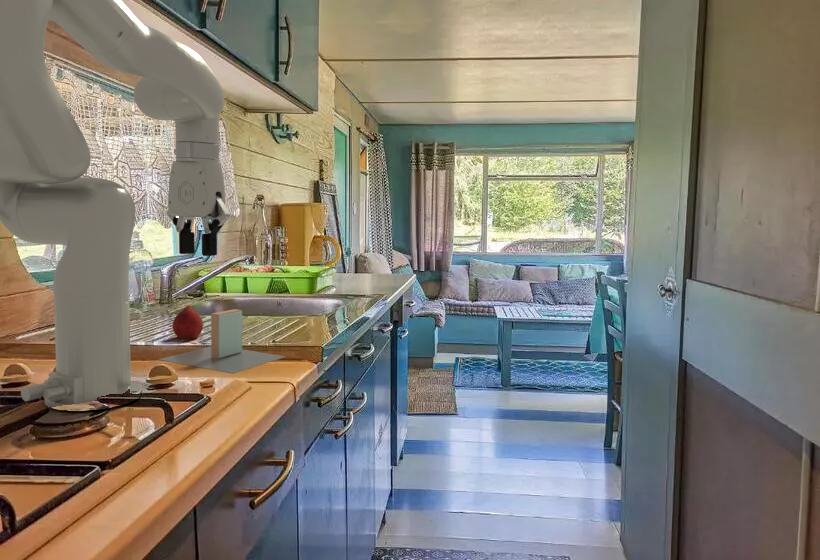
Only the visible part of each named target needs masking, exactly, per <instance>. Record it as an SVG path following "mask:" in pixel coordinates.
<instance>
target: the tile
mask: <svg viewBox="0 0 820 560" xmlns="http://www.w3.org/2000/svg"><path fill="white" fill-rule="evenodd" d="M210 318H211V319H210V320H211V321H210V328H211V329H210V331H211V332H210V333H211V334H210V335H211V336H210V337H211V339H210V342H211V344H210V346H211V358H217V359H219V358H223V357H226V356H230V355H234V354H237V353H241V352H242V349H243V311H242V309H236V308H234V309H228V310H223V311H218V312H212V313H210Z"/></svg>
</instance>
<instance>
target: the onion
mask: <svg viewBox="0 0 820 560" xmlns="http://www.w3.org/2000/svg"><path fill="white" fill-rule="evenodd" d="M172 321H173V322H172V331H173V333H174V334H175V336H176V337H177V338H178V339H180V340H194V339H197V338H198V337H199V336H200V335H201V333H202V331H203V328H204V321H203V317H201V315H200V314H199V313H198V312H197V311H195V310H193V306H192V304H186V306H185V307H184V308H183V309H182V310H181V311H179V312H178V313H177V315H176V316H175V317H174V320H172Z"/></svg>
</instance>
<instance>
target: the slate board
mask: <svg viewBox="0 0 820 560" xmlns="http://www.w3.org/2000/svg"><path fill="white" fill-rule="evenodd" d="M286 357H287V356H284V355H279V354H272V353H269V352H268V353H266V352H261V351H254V350H248V349H243V348H242V352H241V353H237V354H234V355H230V356H226V357H223V358H219V359H217V358H211V345H210V346H207V347H203V348H199V349H195V350H191V351H187V352H183V353H178V354H174V355H171V356H167V357H163V358H158V359H157V360H159V361H164V362H169V363H174V364H179V365H186V366H190V367H197V368H201V369H207V370H212V371H217V372H222V373H228V374H232V375H233V374H237V373H239V372H242V371H243V372H244V371H245V370H249V369H252V368H254V367H258V366H261V365H266V364H268V363H271V362H274V361H277V360H280V359H283V358H286Z"/></svg>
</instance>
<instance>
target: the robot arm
mask: <svg viewBox="0 0 820 560" xmlns="http://www.w3.org/2000/svg"><path fill="white" fill-rule="evenodd" d="M49 21H52V22H54V23H56V24H57V25H59V26H60V28H62V29H63V30H64V31H65V32H66V33H67V34H68V35H69V36H70V37H72V38H73V39H74V40H75V41H76V42H77V43H78V44H79V45H80V46H81V47H82V48H83V49H84V50H85V51H87V53H89V55H90V56H92V58H94V60H95V61H96V62H98V63H99V64H101V65H102V66H104V67H107V68H109V69H111V70H115V71H118V72H120V73H124V74H127V75H131V76H135V77H139V78H140V79H139V80H138V81H137V82H136V84H135V87H134V89H133V99H134V102H135V105H136V106H137V108H138V110H140V112H141V113H142V114H143V115H144V116H147V117H148V118H150V119H152V120H157V121H173V122H174V124H175V125H174V127H175V129H174V131H175V132H174V134H175V139H174V140H175V141H174V142H175V143H174V144H175V146H174V147H175V148H174V150H173V154H174V155H175V156H174V157H175V161H172V163H171V167H170V173H169V180H168V191H167V192H168V197H167V211H166V215H167V217H168V218H169V219H170V220H171V221H172V223H173V225H174V226H175V230H176V232H177V233H178V246H179V247H178V253H179V255H190V254H191V255H192V254H194V253H195V252H196V250H195V248H196V247H195V242H196V241H195V232H194V231H193V227H194V221H195V218H201V223H202V226H203V232H204V233H202V234H201V255H202V256H203V257H209V256H210V257H212V256H217V254H218V234H220V233H221V229H222V227H223V226H224V225H225V224H226V223H227V221H228V220H229V219H230V218H231V213H230V211H229V209H228V208H227V206H226V191H225V190H226V189H225V180H224V172H223V167H222V163H221V162H220V114H221V112H222V111H223V108H224V104H225V95H224V90H223V87H222V85H221V83H220V81H219V79H218V77H217V76H216V75H215V73H214V72H213V70H212V69H211V67H210V66H209V65H208V63H206V62H205V60H204V59H203V58H202V57H201V56H200V55H199V54H198V53H197V52H196V51H194V50H193V49H192V48H190V47H189V46H187V45H185V44H183V43H182V42H180V41H179V40H176V39H174V38H172V37H171V36H170V35H167V34H166V33H163V32H162V31H160V30H158V29H156V28H154V27H151V26H149V25H146V24H145V23H144V22H141V20H140V19H138V17H137V16H136V15H135V14H134V13H133V12H132V10H131V9H130V7H128V6H127V5H126V4H125V2H123V0H0V223H1V224H2V225H3V226H4V228H6V230H7V231H9V232H10V233H11V234H12V235H13V236H15V238H18V239H19V240H21V241H24V242H26V243H31V244H39V245H40V244H41V245H60V246H66V247H65V250H64V251H63V254H62V255H61V257H60V259H59V261H58V262H57V265H56V267H55V270H54V274H53V279H52V280H53V285H52V286H53V287H52V288H53V289H52V290H53V307H54V309H53V310H54V311H53V312H54V339H55V341H54V342H55V371H51V372H48V379H45V380H44V381H43V383H39V384H38V383H36V384H31V385H27V386H23V387H22V388H21V390H20V396H21V398H22V400H23V401H24V402H30V401H33V400H36V399H41V398H43V399H44V405H45V406H46V407H47V406H48V407H47V408H49V407H56V406H62V405H72V404H80V403H86V402H92V401H95V400H97V398H98V397H101V396H106V395H109V394H123V393H125V392H126V391H127V390H128V389H130V393H132V394H140V393H142V394H143V386H142V385H141V384H140V383H138V382H134V381H132V377H131V376H132V375H131V367H132V364H131V324H130V323H131V321H130V320H131V318H130V317H131V316H130V281H129V280H130V279H129V278H130V277H129V275H130V274H129V273H130V272H129V271H130V270H129V269H130V253H131V252H130V251H131V244H132V238H133V233H134V229H135V222H136V206H135V205H136V204H135V200H134V199H133V197H132V195H131V193H130V192H129V191H128V189H126V187H124V186H123V185H122V184H119V183H117V182H115V181H113V180H110V179H105V178H100V177H89V176H88V177H85V176H84V175H85V174H86V173H87V172H88V169H89V168H90V166H91V159H92V157H91V150H90V147H89V144H88V143H87V140H86V138H85V135H84V134H83V131H82V130H81V129H80V126H79V125H78V123H77V121H76V120H75V118H74V116H73V114H72V113H71V110H70V109H69V107H68V105H67V104H66V102H65V100H64V99H63V98H64V97H62V95H61V93H60V92H59V90H58V88H57V86H56V85H55V82H54V80H53V78H52V76H51V74H50V71H49V69H48V67H47V63H46V59H45V39H46V32H47V27H48V24H49V23H48V22H49ZM82 176H83V177H82Z"/></svg>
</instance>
